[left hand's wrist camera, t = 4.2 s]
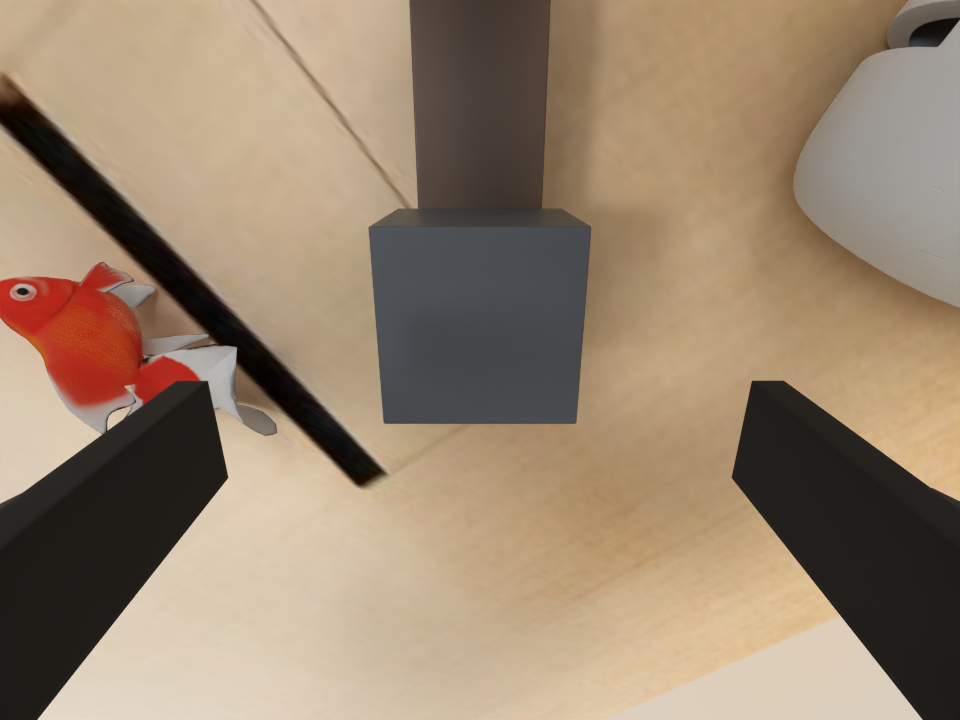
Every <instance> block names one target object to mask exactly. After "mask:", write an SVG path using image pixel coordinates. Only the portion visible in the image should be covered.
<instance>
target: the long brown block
mask: <svg viewBox="0 0 960 720" xmlns="http://www.w3.org/2000/svg"><path fill="white" fill-rule="evenodd" d="M550 1H551V0H410V24H411V48H412V72H413V96H414V119H415V143H416V167H417V191H418V209H542V191H543V167H544V143H545V120H546V96H547V72H548V48H549V25H550Z"/></svg>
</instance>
